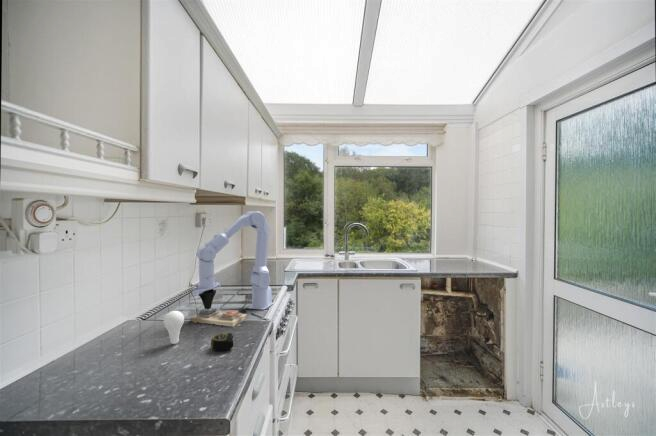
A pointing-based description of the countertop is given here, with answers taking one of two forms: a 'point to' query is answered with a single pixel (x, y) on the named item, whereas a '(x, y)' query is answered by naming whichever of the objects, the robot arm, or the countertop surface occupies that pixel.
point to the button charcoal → (207, 311)
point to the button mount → (219, 319)
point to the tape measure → (222, 342)
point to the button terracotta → (230, 313)
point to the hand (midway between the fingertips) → (207, 308)
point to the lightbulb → (174, 325)
